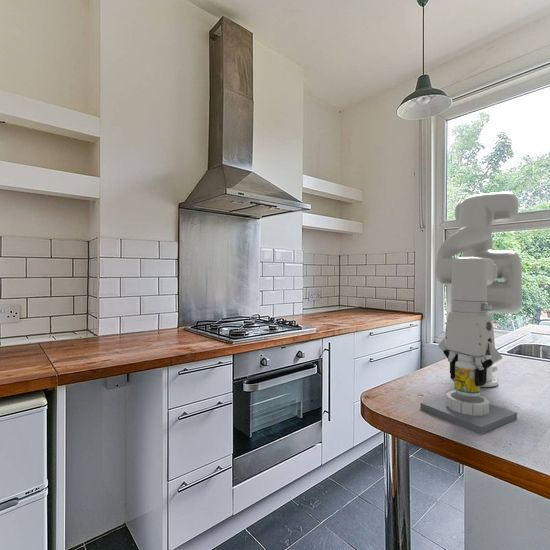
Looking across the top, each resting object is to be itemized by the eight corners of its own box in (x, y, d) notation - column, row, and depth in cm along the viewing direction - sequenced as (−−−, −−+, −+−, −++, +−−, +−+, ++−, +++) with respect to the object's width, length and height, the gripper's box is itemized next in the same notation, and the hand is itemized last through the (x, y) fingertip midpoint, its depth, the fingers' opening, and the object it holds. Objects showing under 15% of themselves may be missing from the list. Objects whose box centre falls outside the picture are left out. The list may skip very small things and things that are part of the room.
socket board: (455, 397, 92) (456, 383, 92) (516, 418, 79) (517, 402, 79) (420, 408, 85) (420, 392, 85) (481, 434, 72) (481, 415, 72)
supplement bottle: (485, 396, 79) (485, 356, 79) (464, 397, 79) (465, 356, 78) (469, 388, 85) (469, 350, 84) (449, 389, 84) (450, 351, 84)
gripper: (515, 310, 76) (514, 389, 76) (445, 303, 91) (444, 370, 91) (497, 312, 72) (496, 395, 72) (427, 305, 87) (426, 374, 87)
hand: (467, 380), depth 82 cm, fingers closed on supplement bottle, 5 cm apart
